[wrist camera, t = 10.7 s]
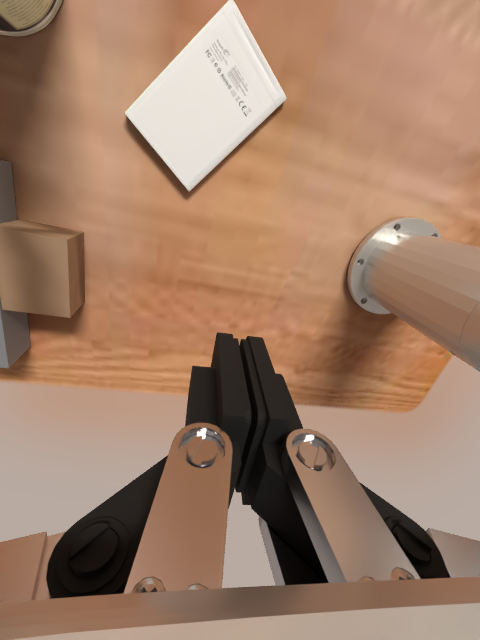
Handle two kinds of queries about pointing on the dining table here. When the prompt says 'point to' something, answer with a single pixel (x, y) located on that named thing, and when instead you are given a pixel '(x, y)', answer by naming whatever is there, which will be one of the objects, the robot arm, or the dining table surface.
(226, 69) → the external hard drive
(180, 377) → the dining table surface
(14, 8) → the coffee can
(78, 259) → the walnut block
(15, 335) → the board
